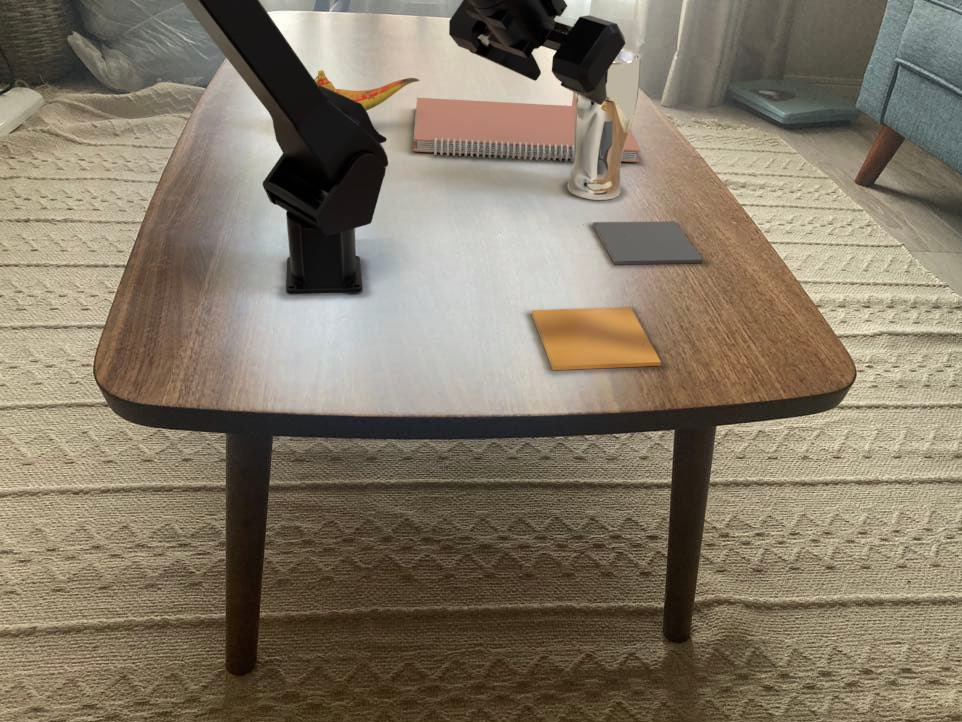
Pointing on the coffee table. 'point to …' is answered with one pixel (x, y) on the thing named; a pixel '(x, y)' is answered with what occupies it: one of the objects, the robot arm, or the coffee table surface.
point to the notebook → (499, 129)
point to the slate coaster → (646, 243)
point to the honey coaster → (594, 338)
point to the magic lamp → (366, 91)
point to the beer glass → (604, 131)
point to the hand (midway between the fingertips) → (569, 88)
